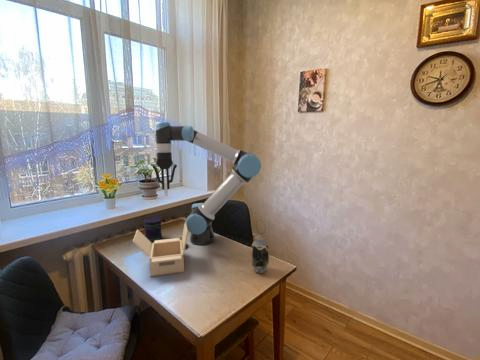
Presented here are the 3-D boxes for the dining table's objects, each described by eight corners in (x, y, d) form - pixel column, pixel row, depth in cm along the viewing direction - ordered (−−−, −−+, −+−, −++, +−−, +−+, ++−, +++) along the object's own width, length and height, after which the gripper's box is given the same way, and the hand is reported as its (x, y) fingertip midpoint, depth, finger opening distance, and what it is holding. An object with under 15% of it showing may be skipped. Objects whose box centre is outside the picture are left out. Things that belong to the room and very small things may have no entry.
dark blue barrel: (165, 242, 153) (164, 218, 151) (152, 247, 145) (151, 223, 142) (155, 238, 158) (153, 216, 156) (141, 244, 150) (140, 220, 148)
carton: (181, 252, 138) (181, 237, 137) (184, 276, 115) (183, 257, 113) (153, 256, 134) (152, 240, 133) (150, 280, 111) (148, 262, 109)
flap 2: (186, 231, 116) (187, 232, 117) (184, 221, 131) (185, 221, 131) (183, 252, 117) (184, 252, 118) (181, 239, 132) (182, 239, 132)
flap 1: (137, 229, 125) (136, 230, 125) (133, 241, 111) (132, 241, 111) (151, 242, 128) (150, 243, 128) (149, 255, 113) (148, 256, 113)
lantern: (248, 268, 122) (248, 219, 118) (260, 263, 126) (261, 215, 123) (260, 275, 115) (260, 223, 111) (272, 270, 120) (273, 220, 116)
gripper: (176, 151, 137) (178, 193, 141) (151, 151, 134) (154, 194, 137) (176, 152, 130) (178, 195, 134) (150, 152, 127) (153, 197, 130)
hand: (166, 195), depth 136 cm, fingers closed
